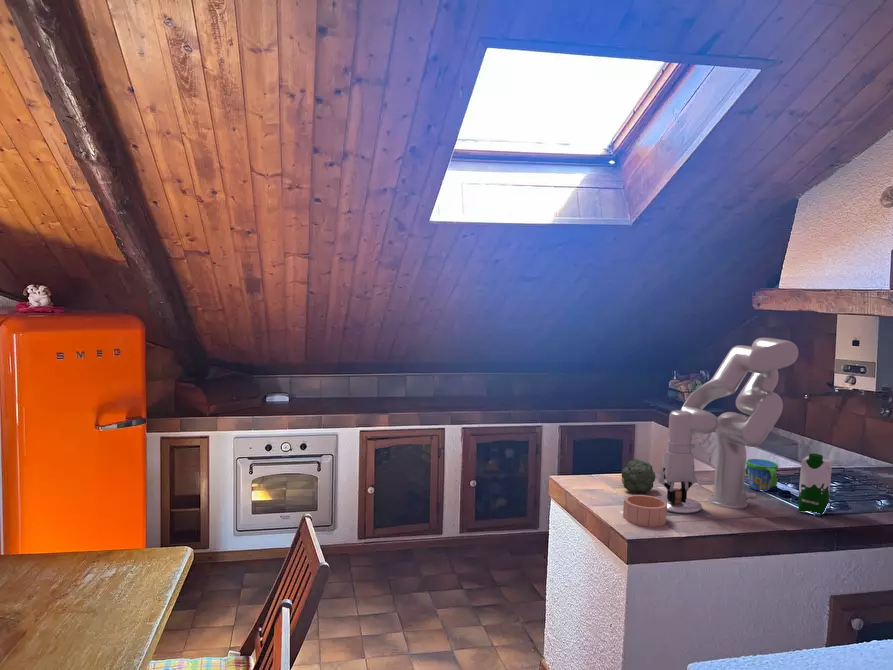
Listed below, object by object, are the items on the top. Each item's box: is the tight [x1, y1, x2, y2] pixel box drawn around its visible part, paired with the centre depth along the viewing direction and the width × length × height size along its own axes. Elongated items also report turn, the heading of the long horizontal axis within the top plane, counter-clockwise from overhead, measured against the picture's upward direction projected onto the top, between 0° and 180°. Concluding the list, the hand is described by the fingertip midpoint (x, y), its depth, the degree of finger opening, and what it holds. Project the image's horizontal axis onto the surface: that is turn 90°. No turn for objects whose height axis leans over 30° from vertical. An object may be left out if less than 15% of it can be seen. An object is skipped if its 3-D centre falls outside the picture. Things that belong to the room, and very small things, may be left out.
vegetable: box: [620, 458, 656, 494], centre depth 252 cm, size 12×13×15 cm
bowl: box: [622, 494, 668, 527], centre depth 222 cm, size 13×13×6 cm
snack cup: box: [745, 458, 779, 491], centre depth 259 cm, size 16×10×10 cm
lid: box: [655, 487, 703, 514], centre depth 235 cm, size 16×16×5 cm
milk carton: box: [797, 453, 833, 514], centre depth 235 cm, size 9×9×20 cm
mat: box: [667, 508, 712, 517], centre depth 235 cm, size 17×17×1 cm
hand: (676, 501), depth 235 cm, fingers closed on lid, 3 cm apart
